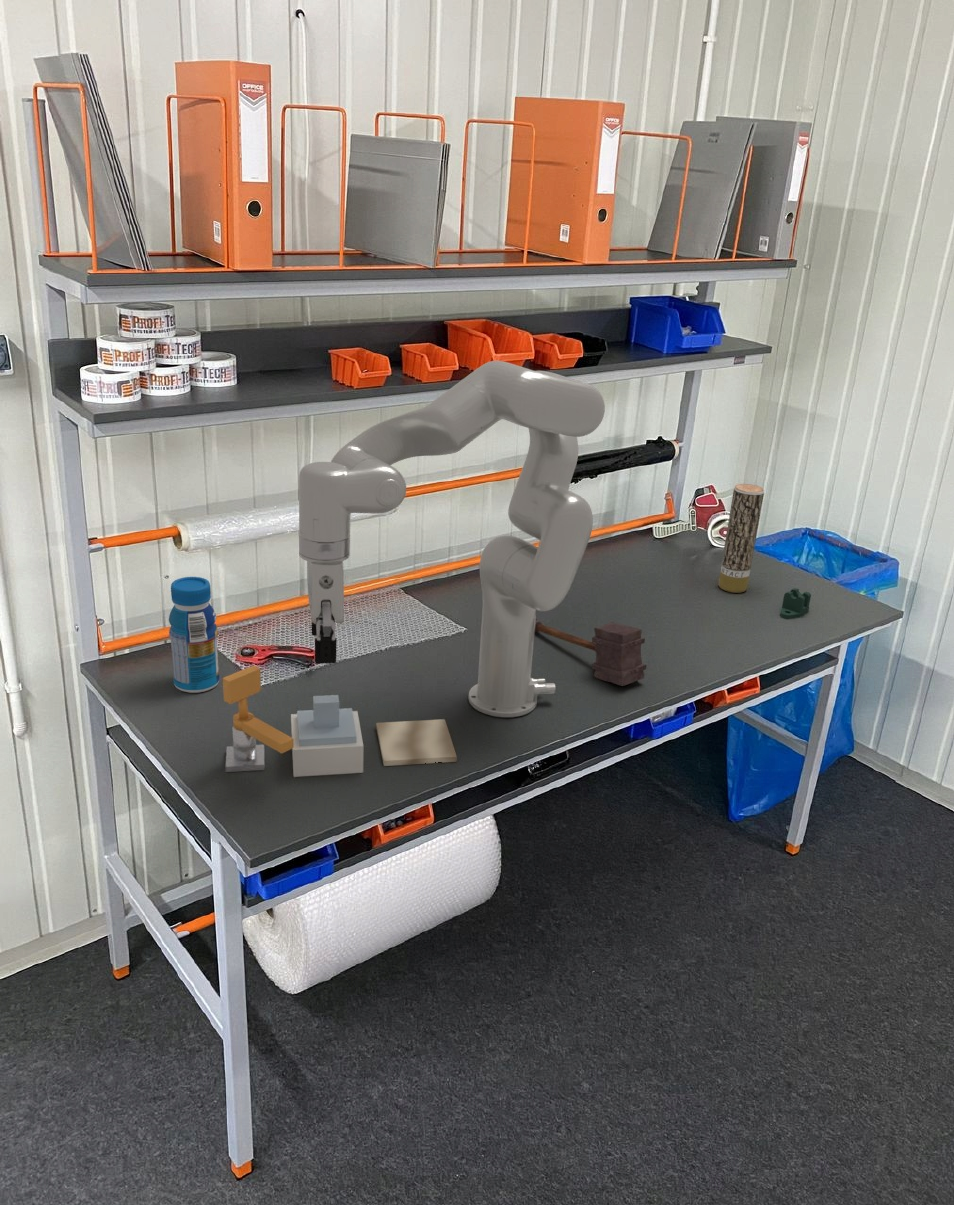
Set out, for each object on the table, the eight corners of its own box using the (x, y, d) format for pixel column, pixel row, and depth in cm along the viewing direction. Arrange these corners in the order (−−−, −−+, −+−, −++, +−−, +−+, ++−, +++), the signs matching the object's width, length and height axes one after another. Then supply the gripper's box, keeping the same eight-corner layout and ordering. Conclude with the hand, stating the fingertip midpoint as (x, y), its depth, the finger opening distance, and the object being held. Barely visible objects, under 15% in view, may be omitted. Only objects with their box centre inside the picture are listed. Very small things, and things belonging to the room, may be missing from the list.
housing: (357, 736, 173) (357, 711, 171) (363, 772, 163) (363, 745, 161) (291, 740, 171) (290, 714, 169) (293, 776, 161) (293, 749, 159)
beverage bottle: (164, 690, 184) (156, 588, 175) (186, 669, 191) (180, 571, 183) (207, 697, 182) (201, 595, 174) (228, 676, 190) (223, 577, 181)
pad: (444, 724, 178) (444, 719, 178) (456, 761, 167) (456, 756, 167) (376, 727, 176) (376, 722, 175) (383, 765, 165) (383, 760, 165)
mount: (792, 622, 227) (796, 602, 225) (773, 616, 230) (777, 595, 228) (813, 609, 235) (818, 589, 233) (796, 603, 237) (800, 583, 235)
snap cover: (351, 714, 170) (352, 684, 167) (356, 742, 162) (356, 711, 159) (297, 717, 168) (296, 686, 166) (299, 746, 160) (298, 714, 158)
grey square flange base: (264, 749, 168) (263, 715, 165) (264, 769, 162) (263, 734, 160) (226, 751, 166) (225, 717, 164) (225, 772, 161) (223, 736, 158)
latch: (302, 743, 158) (301, 690, 154) (272, 758, 154) (270, 704, 150) (252, 715, 165) (250, 663, 161) (222, 728, 160) (219, 676, 157)
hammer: (623, 687, 191) (621, 636, 189) (512, 652, 217) (509, 607, 214) (647, 678, 195) (646, 628, 193) (535, 645, 220) (533, 600, 218)
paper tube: (724, 580, 247) (741, 481, 237) (751, 588, 244) (769, 488, 234) (713, 588, 242) (729, 488, 232) (740, 596, 239) (757, 494, 228)
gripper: (354, 567, 145) (352, 673, 152) (345, 526, 160) (343, 624, 167) (301, 567, 143) (301, 674, 150) (297, 526, 159) (297, 625, 166)
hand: (323, 648), depth 159 cm, fingers open, 9 cm apart
